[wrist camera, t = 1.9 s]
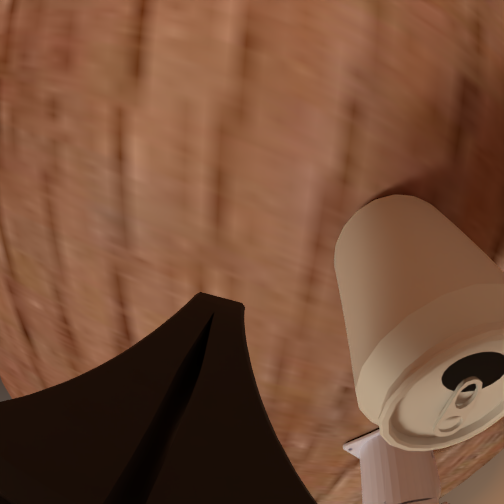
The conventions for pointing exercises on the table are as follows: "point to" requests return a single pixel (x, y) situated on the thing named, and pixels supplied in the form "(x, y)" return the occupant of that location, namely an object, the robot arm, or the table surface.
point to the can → (421, 324)
